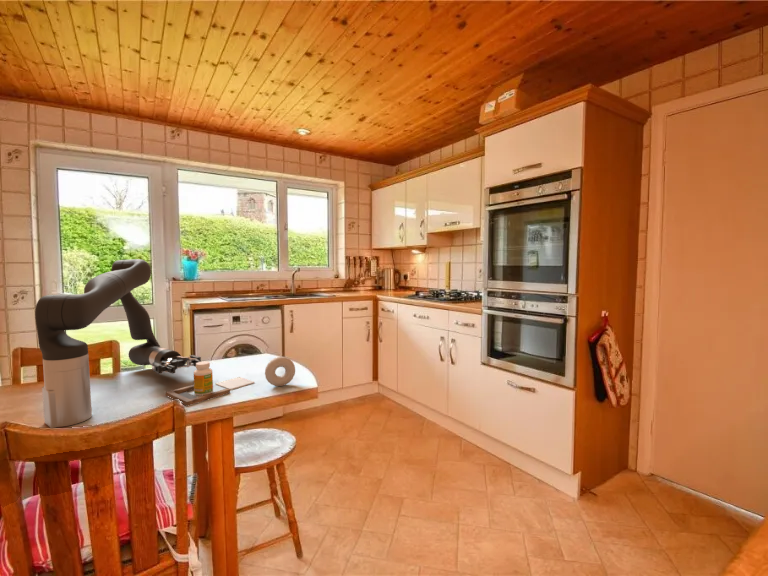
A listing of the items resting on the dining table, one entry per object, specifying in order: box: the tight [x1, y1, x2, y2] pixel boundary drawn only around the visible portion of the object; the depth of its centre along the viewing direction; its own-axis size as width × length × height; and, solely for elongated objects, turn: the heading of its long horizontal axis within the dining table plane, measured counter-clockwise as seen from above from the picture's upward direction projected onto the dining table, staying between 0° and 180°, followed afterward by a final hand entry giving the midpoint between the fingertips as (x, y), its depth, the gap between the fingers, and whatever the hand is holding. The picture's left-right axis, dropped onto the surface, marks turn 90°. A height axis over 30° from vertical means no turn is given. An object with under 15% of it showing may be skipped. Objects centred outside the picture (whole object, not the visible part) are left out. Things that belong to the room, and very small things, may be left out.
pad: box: [215, 376, 255, 391], centre depth 131 cm, size 9×9×1 cm
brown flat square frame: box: [165, 384, 231, 407], centre depth 121 cm, size 14×14×1 cm
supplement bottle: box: [193, 360, 214, 396], centre depth 122 cm, size 5×5×10 cm
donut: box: [264, 356, 296, 387], centre depth 129 cm, size 10×4×10 cm, turn 116°
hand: (187, 367), depth 128 cm, fingers open, 8 cm apart
